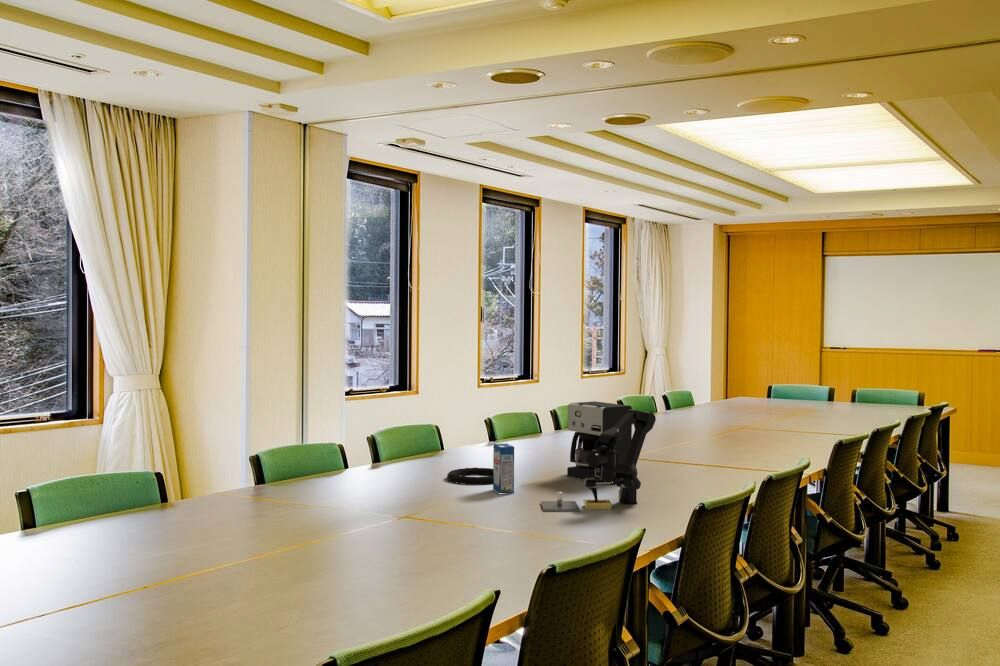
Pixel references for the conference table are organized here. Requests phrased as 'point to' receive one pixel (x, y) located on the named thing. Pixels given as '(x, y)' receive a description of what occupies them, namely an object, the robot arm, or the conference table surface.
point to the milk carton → (503, 468)
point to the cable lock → (456, 477)
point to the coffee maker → (594, 433)
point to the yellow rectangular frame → (597, 504)
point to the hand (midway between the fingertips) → (608, 504)
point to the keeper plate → (559, 508)
